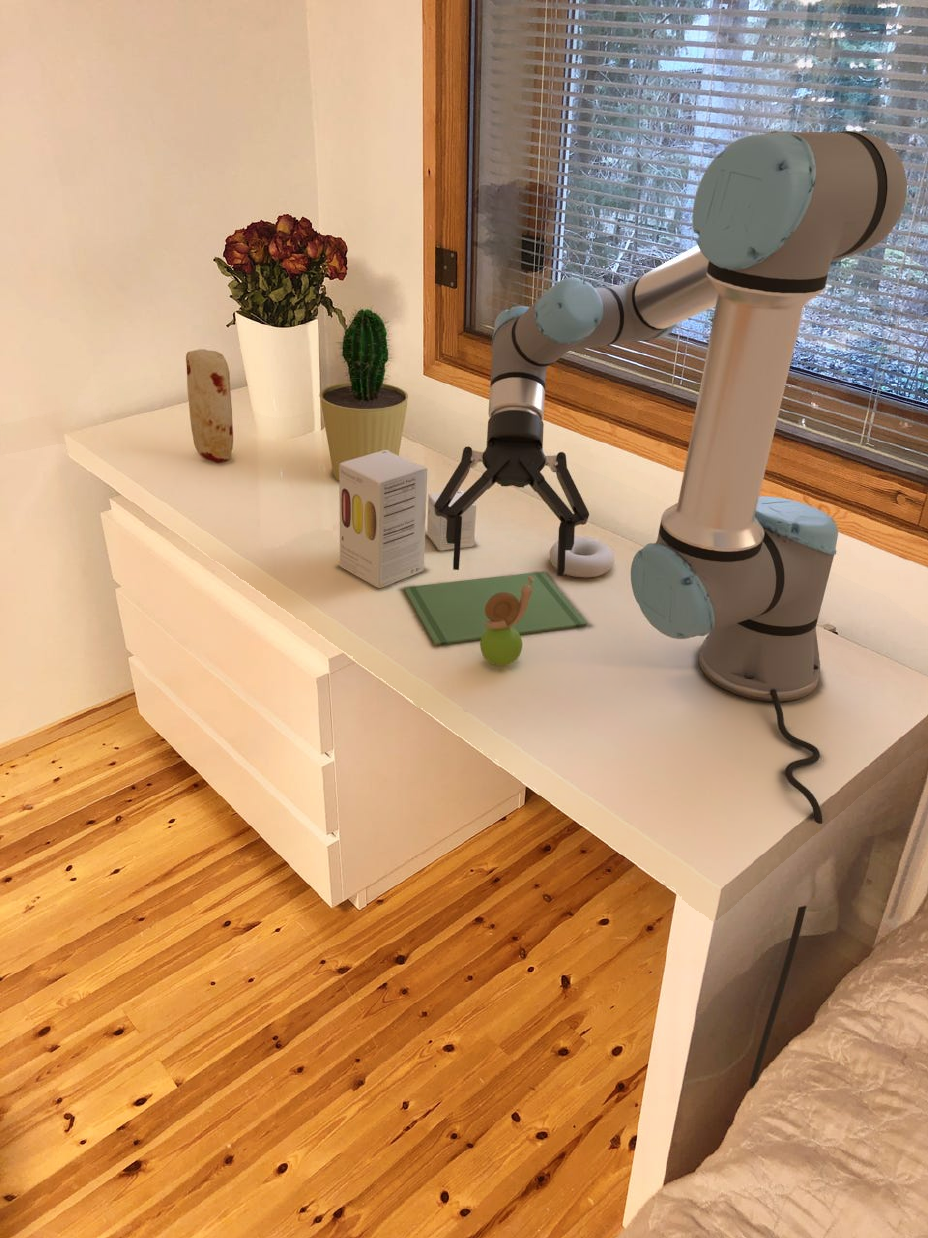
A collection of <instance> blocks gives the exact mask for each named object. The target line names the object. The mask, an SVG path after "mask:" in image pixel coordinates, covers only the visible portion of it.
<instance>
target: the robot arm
mask: <svg viewBox="0 0 928 1238" xmlns="http://www.w3.org/2000/svg"><path fill="white" fill-rule="evenodd" d="M907 195H908V181H907V173H906V170H905V167H904V165H903V162H902V159H901V158H900V157H899V155H898V153H897V152H896V151H895V149H894V148H892V147H891V146H890V145H889V144H888V143H887V142H886V141H884V140H883V139H881V138H879V137H878V136H875V135H873V134H870V133H868V132H862V131H852V130H851V131H850V130H847V131H788V130H786V131H784V130H783V131H779V130H773V131H769V132H765V133H762V134H761V133H759V134H752V135H747V136H743V137H741V138H738V139H737V140H734V141H733V142H731V143H730V144H728V145H727V146H726V147H725V148H724V149H723V151H721V152H720V153H718V154H717V155H716V156H715V157H714V158H713V159H712V161H711V162H710V163H709V165H708V166H707V168H706V170H705V171H704V172H703V175H702V177H701V179H700V180H699V184H698V186H697V189H696V192H695V196H694V199H693V205H692V213H691V214H692V216H691V217H692V218H691V219H692V230H693V231H692V232H693V233H694V234H697V236H698V237H697V239H696V241H695V242H696V246H693V247H692V248H690V249H688V250H686V251H685V252H683V253H680V254H679V255H677V256H676V257H673V258H671V259H669V260H668V261H666V262H664V263H662V264H660V265H659V266H657V267H655V268H653V269H652V270H651V269H650V270H649V271H647V272H646V273H645V274H643V275H641V276H638V277H637V278H635V279H633V280H631V281H630V282H627V283H624V284H620V285H619V284H618V285H611V286H600V287H594V285H592V283H590V282H588V281H584V280H583V279H582V280H581V279H580V278H578V277H566V278H563V279H560V281H558V282H557V283H555V284H554V285H552V286H551V287H549V288H548V289H547V290H545V291H544V292H543V293H542V294H541V295H540V296H539V298H538V299H537V300H536V301H534V303H532V305H530V306H525V305H518V306H516V305H515V306H512V307H511V308H510V309H504V310H502V311H501V312H500V313H499V314H498V315H497V316H496V318H495V320H494V325H493V332H492V336H491V361H490V363H491V364H490V385H489V387H490V388H489V396H488V397H489V398H488V399H489V401H488V413H487V415H488V418H489V419H488V421H487V432H486V447H485V450H484V451H478V450H473V449H472V447H471V446H469V445H468V446H464V448H463V450H462V454H461V460H460V462H459V464H458V465H457V467H456V469H455V470H454V472H453V473H452V476H451V477H450V478H449V480H448V481H447V483H446V484H445V486H444V488H443V490H442V491H441V492H440V493H441V495H440V496H439V498H438V499H437V501H436V503H435V505H434V509H435V515H436V516H442V517H444V518H445V519H446V520H447V530H446V540H447V543H451V544H454V549H453V559H452V570H453V571H460V561H461V560H460V559H461V548H460V546H461V530H462V516H461V515H462V514H463V513H464V512H465V511H466V510H467V509H468V508H469V507H470V506H471V505H472V504H473V503H475V502H477V500H478V499H479V498H480V497H481V496H482V495H484V493H486V491H488V490H489V489H491V488H492V487H493V486H494V485H495V484H496V483H497V484H498V485H500V487H507V488H508V487H510V486H513V487H517V488H523V489H524V488H525V487H526V486H530V488H531V489H532V490H533V491H534V492H535V493H537V495H538V496H539V497H540V498H541V499H542V500H543V502H544V503H545V504H546V506H548V508H549V509H550V510H551V512H552V513H553V514H554V515H555V516H556V518H557V519H558V520H559V521H560V523H559V526H558V539H557V541H558V562H557V569H556V577H564V571H565V550H570V551H571V550H572V548H573V545H574V537H575V534H576V533H575V531H576V529H575V528H576V527H577V526H579V525H586V524H587V522H588V519H589V517H590V512H589V510H588V507H587V505H586V503H585V502H584V499H583V497H582V496H581V493H580V492H579V489H578V487H577V485H576V484H575V481H574V479H573V477H572V475H571V473H570V470H569V469H568V464H567V463H568V462H567V455H566V453H565V452H564V451H559V452H558V453H557V454H556V455H546V454H545V453H544V450H543V448H544V425H545V423H544V421H543V420H544V418H545V403H546V402H545V401H546V380H547V379H546V378H547V369H548V368H549V367H550V366H552V365H553V364H554V363H556V362H557V361H558V360H559V359H560V358H562V357H563V356H564V355H566V354H567V353H569V352H572V351H577V350H585V349H592V348H600V347H605V346H611V345H619V344H626V343H634V342H643V343H644V342H650V341H653V340H656V339H659V338H663V337H666V336H668V335H670V334H671V333H672V332H673V330H674V328H675V327H676V325H677V324H679V323H681V322H684V321H685V320H689V319H690V318H693V317H694V316H697V315H698V314H701V313H704V312H706V311H708V310H710V309H712V308H714V307H715V308H714V313H713V318H712V324H711V328H710V334H709V338H708V344H707V350H706V355H705V358H704V365H703V366H704V367H703V369H702V376H701V381H700V385H699V391H698V396H697V402H696V406H695V412H694V418H693V423H692V427H691V433H690V439H689V443H688V449H687V454H686V458H685V464H684V468H683V475H682V480H681V485H680V490H679V495H678V500H677V502H676V503H675V504H673V505H671V506H669V507H667V508H666V509H665V510H664V511H663V512H662V515H661V518H660V524H659V529H658V533H657V534H658V535H657V538H656V541H655V542H650V543H647V544H646V545H644V546H643V547H642V548H641V549H639V550H638V551H637V552H636V553H635V554H634V557H633V558H632V562H631V567H630V583H631V589H632V593H633V597H634V599H635V602H636V603H637V604H638V606H639V609H640V611H641V613H642V615H643V616H644V618H645V619H646V620H647V621H648V622H649V624H650V625H651V626H652V627H653V628H655V629H656V631H658V632H659V633H661V634H663V635H664V636H666V637H668V638H671V639H675V640H685V639H690V638H694V637H695V638H696V637H705V636H706V637H705V638H704V640H703V643H702V645H701V647H700V651H699V659H698V662H699V667H700V669H701V671H702V672H703V673H704V675H705V676H706V677H707V678H708V679H709V680H710V681H711V682H712V683H714V684H715V685H717V686H718V687H720V688H722V689H724V690H725V691H728V692H730V693H732V694H735V695H737V696H740V697H743V698H747V699H752V700H755V701H756V700H757V701H762V702H772V703H773V706H774V711H775V713H776V719H777V720H776V721H777V726H778V730H779V732H780V734H781V736H782V737H784V739H786V740H787V741H788V742H790V743H792V744H793V745H796V746H798V747H801V748H803V749H806V750H808V751H809V752H811V754H812V755H811V756H809V757H806V758H802V759H797V760H793V761H792V762H789V764H787V765H786V767H785V770H784V774H785V778H786V780H787V782H788V783H789V784H790V785H791V786H792V787H794V788H795V789H796V790H797V791H798V792H799V793H801V794H802V795H803V796H804V797H805V798H806V799H807V801H808V803H809V804H810V807H811V810H812V811H813V817H814V823H816V824H819V825H822V824H823V814H822V810H821V806H820V803H819V801H818V799H817V798H816V797H815V795H814V793H812V792H811V791H810V790H809V789H808V788H807V787H806V786H805V785H803V783H801V782H800V781H799V780H797V778H795V776H794V775H793V772H794V770H795V769H797V768H801V767H805V766H808V765H809V766H810V765H812V764H815V763H817V762H818V761H819V759H820V758H821V757H820V756H821V753H820V750H819V748H818V747H817V746H815V745H814V744H812V743H810V742H807V741H805V740H803V739H801V738H798V737H796V736H794V735H793V734H791V733H790V732H789V731H788V729H787V727H786V725H785V718H784V711H783V709H782V705H781V702H790V701H795V700H799V699H802V698H804V697H806V696H808V695H810V694H811V693H812V692H814V690H815V689H816V687H817V685H818V682H819V678H820V674H821V660H820V651H819V644H818V636H817V625H818V620H819V616H820V614H821V613H820V612H821V608H822V604H823V602H824V596H825V594H826V590H827V586H828V581H829V577H830V574H831V569H832V566H833V562H834V557H835V556H836V554H837V549H836V548H837V542H838V538H839V528H838V526H837V523H836V521H835V520H834V518H832V517H831V516H830V515H828V514H827V513H826V512H825V511H822V510H820V509H818V508H816V507H814V506H811V505H809V504H806V503H803V502H801V501H798V500H793V499H789V498H784V497H778V496H777V497H776V496H766V495H765V496H760V494H761V489H762V486H763V482H764V479H765V478H764V477H765V473H766V470H767V464H768V460H769V457H770V453H771V448H772V445H773V440H774V435H775V431H776V428H777V427H776V426H777V422H778V418H779V415H780V411H781V406H782V402H783V397H784V395H785V394H784V393H785V388H786V385H787V381H788V375H789V373H790V367H791V364H792V359H793V355H794V351H795V346H796V342H797V339H798V334H799V329H800V325H801V322H802V318H803V317H802V316H803V314H804V309H805V306H806V305H807V304H808V303H809V302H810V301H812V300H813V299H814V298H816V297H817V296H819V295H821V294H822V293H824V291H825V289H826V284H827V281H828V276H829V273H830V270H831V265H833V264H835V263H837V262H839V261H842V260H845V259H846V258H849V257H852V256H855V255H858V254H861V253H864V252H866V251H869V250H870V249H872V248H873V247H875V246H877V245H878V244H880V243H881V242H882V241H883V240H884V239H885V238H887V236H889V234H890V233H891V232H892V231H893V229H894V228H895V227H896V225H897V223H898V222H899V220H900V218H901V216H902V213H903V211H904V208H905V204H906V201H907ZM479 463H482V464H483V466H484V467H485V469H486V470H485V471H484V472H483V473H482V474H481V476H480V477H479V478H478V479H477V480H476V481H475V482H474V483H473V484H472V485H471V486H470V487H469V488H468V489H467V490H465V491H464V492H465V493H464V494H463V495H462V496H461V497H460V498H459V499H458V500H457V501H456V502H455V503H454V504H453V505H452V506H451V507H449V504H450V502H451V501H452V499H453V498H454V496H455V494H456V493H457V491H459V489H461V486H462V485H463V483H464V481H465V480H466V478H467V476H468V475H469V473H470V470H471V468H475V467H476V466H477V465H478V464H479ZM545 466H547V467H548V468H549V469H550V471H551V472H552V473H555V475H556V479H557V481H558V483H559V485H560V487H561V489H562V492H563V493H564V496H565V497H566V499H567V502H568V504H569V507H570V508H571V510H570V508H569V507H568V506H567V505H566V504H565V502H564V501H563V500H562V499H561V497H560V496H559V495H558V494H557V493H556V491H555V490H554V489H553V487H552V486H551V485H550V484H549V482H548V481H547V480H546V478H545V476H544V475H543V474H542V470H543V469H544V468H545ZM806 910H807V905H803V906H799V907H797V912H796V916H795V920H794V925H793V928H792V933H791V936H790V940H789V943H788V947H787V951H786V955H785V959H784V962H783V964H782V965H783V966H782V968H781V973H780V976H779V980H778V983H777V986H776V990H775V994H774V996H773V1000H772V1002H771V1007H770V1010H769V1012H768V1016H767V1020H766V1023H765V1025H764V1031H763V1033H762V1036H761V1040H760V1043H759V1047H758V1051H757V1053H756V1057H755V1061H754V1064H753V1068H752V1070H751V1071H752V1072H751V1076H750V1079H749V1084H748V1085H749V1086H750V1087H751V1088H754V1087H753V1086H754V1085H755V1083H756V1084H757V1081H758V1078H759V1075H760V1071H761V1067H762V1064H763V1060H764V1057H765V1054H766V1051H767V1047H768V1043H769V1040H770V1037H771V1034H772V1030H773V1026H774V1023H775V1020H776V1018H777V1013H778V1010H779V1007H780V1003H781V1000H782V998H783V994H784V990H785V987H786V983H787V980H788V977H789V974H790V971H791V967H792V964H793V960H794V956H795V953H796V949H797V945H798V942H799V937H800V935H801V931H802V926H803V924H804V923H803V922H804V919H805V914H806Z"/></svg>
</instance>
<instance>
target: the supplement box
mask: <svg viewBox="0 0 928 1238" xmlns="http://www.w3.org/2000/svg"><path fill="white" fill-rule="evenodd" d="M339 477H340V481H339V567H340V568H342V569H344V570H345V571H347V572H349V573H351V574H352V575H354V576H356V577H357V578H359V579H361V580H362V581H365V582H366V583H367V584H370V585H372V586H373V587H375V588H377V589H382V588H384V587H387V586H389V585H392V584H394V583H397V582H399V581H402V580H404V579H407V578H409V577H412V576H414V575H416V574H419V573H422V572H424V569H425V548H426V547H425V545H426V543H425V542H426V519H427V514H426V513H427V493H428V492H427V491H428V467H426V466H423V465H421V464H418V463H416V462H414V461H411V460H409V459H407V458H404V457H402V456H400V455H399V456H398V455H396V454H394V453H392V452H390V451H388V450H383V451H379V452H376V453H373V454H369V455H366V456H362V457H359V458H356V459H352V460H348V461H345V462H342V463H340V464H339Z"/></svg>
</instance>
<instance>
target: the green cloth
mask: <svg viewBox="0 0 928 1238" xmlns="http://www.w3.org/2000/svg"><path fill="white" fill-rule="evenodd" d="M529 576H531V578H532V579H533V580H534V582H533V583H531V582H530V584H529V580H528V577H529ZM526 585H529V586H530V587H531V585H532V593H531V595H530V598H529V602H528V605H527V608H526V611H525V613H524V615H523V617H522V618H521V620H520V621H519V622H517V623H516V624H514V625H512V627H513V628H515V629H516V630H517V631H518V633H519V634H520V635H526V634H535V633H542V632H549V631H557V630H566V629H572V628H578V627H586V626H587V622H586V621H585V620H584V619H583V617H582V616H581V614H579V612H578V611H577V610H576V608H574V606H573V605H572V603H571V602H570V601H569V600H568V599H567V598H566V596H565V595H564V594H563V593H562V591H561V590H560V589H559V587H558V586H557V585H556V584H555V583H554V582H553V580H552V579H551V578H550V577H549V576H548V574H547V573H546V572H545V571H536V572H529V573H528V572H527V573H521V574H511V575H510V574H509V575H503V576H502V575H501V576H493V577H483V578H475V579H468V580H466V579H465V580H458V581H449V582H439V583H432V584H431V583H430V584H421V585H412V586H404V587H403V590H404V593H405V594H406V596H407V599H408V600H409V601H410V604H411V606H412V607H413V609H414V610H415V612H416V615H417V616H418V618H419V619H420V621H421V623H422V624H423V626H424V628H425V630H426V632H427V634H428V635H429V637H430V639H431V640H432V643H433V644H434V646H443V645H450V644H458V643H465V642H473V641H481V638H482V635H483V634H484V632H485V631H486V630H487V629H488V628H489V627H487V626H486V625H485V622H487V621H491V620H490V619H488V618H487V616H486V614H485V606H486V603H487V602H488V600H489V599H490V598H491V597H492V596H493V595H495V594H497V593H501V592H508V593H511V594H513V595H514V596H515V597H516V598H517V600H518V602H519V601H520V598H521V595H522V593H521V590H522V588H523V587H524V586H526Z"/></svg>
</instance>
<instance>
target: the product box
mask: <svg viewBox="0 0 928 1238" xmlns="http://www.w3.org/2000/svg"><path fill="white" fill-rule="evenodd" d="M465 492H466V491H464V490H458V491H457V493H456V494H455V496H454V498H453V499H452V501H451V502H450V504H449V507H451V506H452V505H453V504H454V503H455V502H456V501H457V500H458V499H459V498H460V497H461V496H462V495H463V494H464V493H465ZM441 493H442V492H436V493H435V492H434V493H428V495H427V499H428V500H427V524H426V526H427V527H426V536H427V537H428V538H429V539H430V540H431V542H432V543H433V544H434V546H435V547H436V549H437V550H438V551H439V552H441V551H448V550H454V544H451V543H447V540H446V530H447V520H446V519H445V518H444V517H442V516H436V515H435V509H434V505H435V503H436V501H437V499H438V498H439V496H440V495H441ZM461 516H462V530H461V546H460V549H464V548H472V547H474V546H475V533H476V519H477V505H476V504H475V502H474V503H473V504H472V505H471V506H470V507H469V508H468V509H467V510H466V511H465V512H464V513H463V514H462V515H461Z"/></svg>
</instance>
